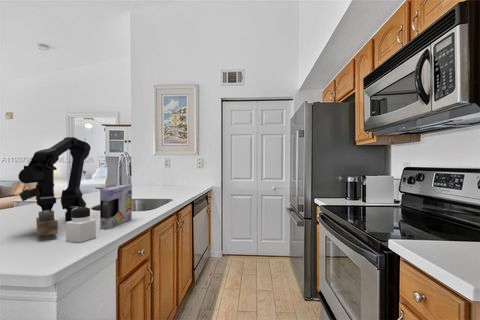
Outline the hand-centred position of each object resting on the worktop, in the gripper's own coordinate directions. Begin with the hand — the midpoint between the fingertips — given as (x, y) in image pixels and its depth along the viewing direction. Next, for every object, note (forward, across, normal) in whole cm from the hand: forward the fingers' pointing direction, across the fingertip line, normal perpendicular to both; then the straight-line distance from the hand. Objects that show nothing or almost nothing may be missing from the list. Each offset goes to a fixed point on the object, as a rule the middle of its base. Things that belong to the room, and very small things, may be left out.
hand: (45, 218), depth 114 cm
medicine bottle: (+6, +21, +10) cm, 24 cm away
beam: (+6, +3, 0) cm, 6 cm away
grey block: (+1, +4, 0) cm, 4 cm away
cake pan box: (+6, +4, +27) cm, 28 cm away
